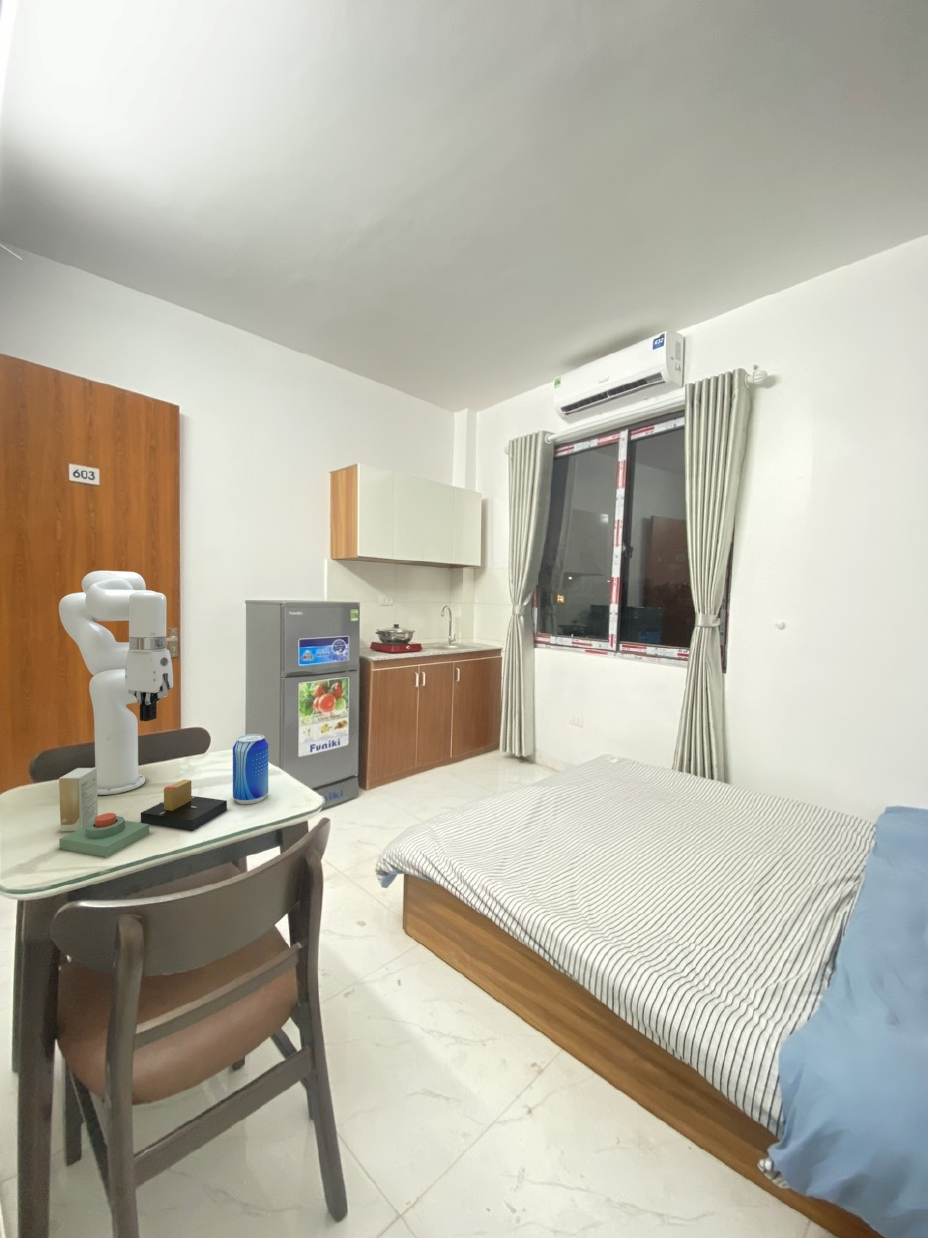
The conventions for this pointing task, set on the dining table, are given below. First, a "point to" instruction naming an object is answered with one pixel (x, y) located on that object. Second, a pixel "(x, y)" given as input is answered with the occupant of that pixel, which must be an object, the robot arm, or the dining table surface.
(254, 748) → the beer can
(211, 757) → the dining table surface
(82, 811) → the cosmetic box
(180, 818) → the base
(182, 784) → the tap handle
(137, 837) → the button block
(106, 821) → the button
